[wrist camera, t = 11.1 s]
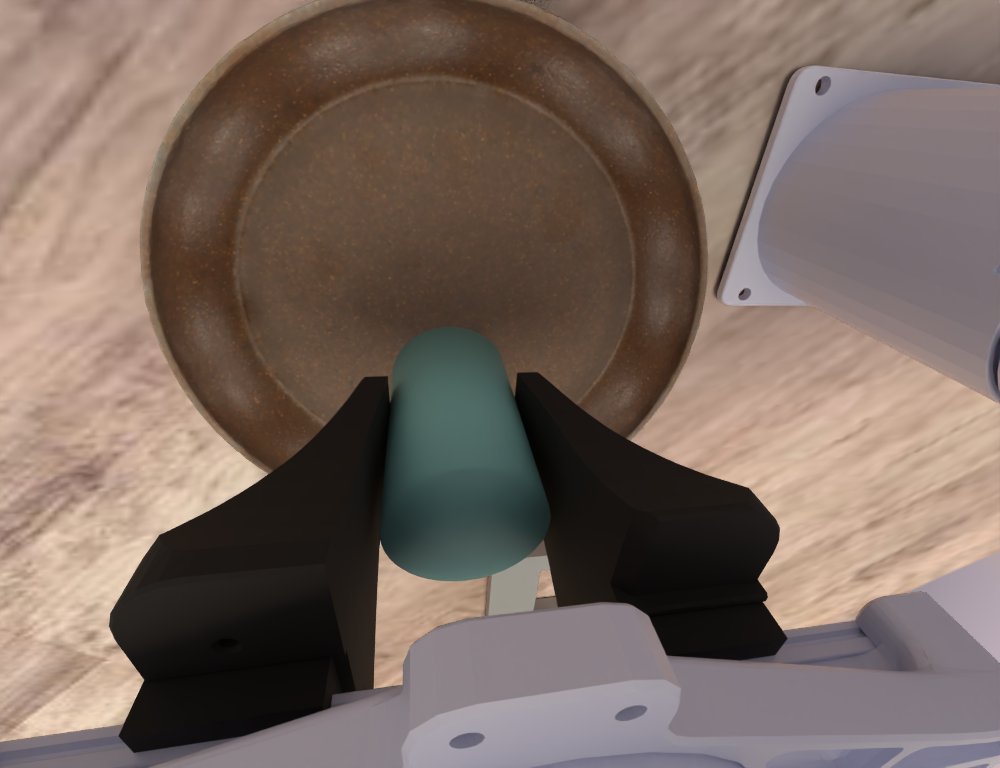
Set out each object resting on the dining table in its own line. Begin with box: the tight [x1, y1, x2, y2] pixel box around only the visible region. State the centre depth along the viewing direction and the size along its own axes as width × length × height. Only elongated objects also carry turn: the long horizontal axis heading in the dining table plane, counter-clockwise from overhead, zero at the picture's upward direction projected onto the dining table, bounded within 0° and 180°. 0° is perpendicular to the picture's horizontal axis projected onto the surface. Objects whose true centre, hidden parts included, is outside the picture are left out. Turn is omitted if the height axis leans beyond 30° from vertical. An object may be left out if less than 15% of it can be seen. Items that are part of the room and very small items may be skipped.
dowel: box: [380, 327, 551, 581], centre depth 12 cm, size 4×4×6 cm
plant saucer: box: [140, 0, 708, 474], centre depth 16 cm, size 18×18×3 cm
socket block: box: [485, 541, 558, 616], centre depth 27 cm, size 10×7×1 cm
